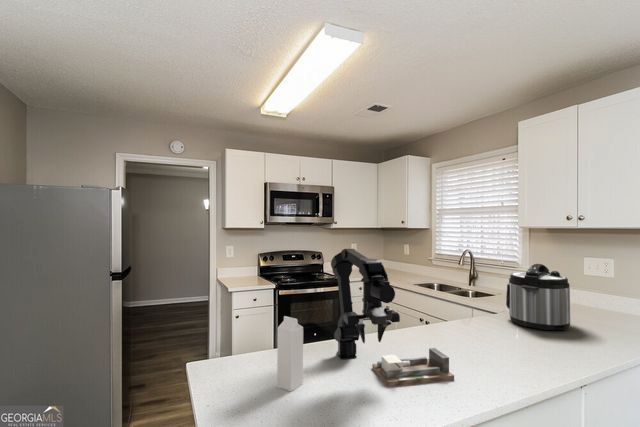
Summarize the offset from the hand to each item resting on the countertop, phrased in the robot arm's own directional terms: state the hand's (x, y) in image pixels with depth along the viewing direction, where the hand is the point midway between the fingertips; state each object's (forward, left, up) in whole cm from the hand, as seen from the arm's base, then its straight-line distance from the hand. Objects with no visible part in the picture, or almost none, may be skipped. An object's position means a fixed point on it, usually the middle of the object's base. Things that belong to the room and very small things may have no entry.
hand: (371, 342), depth 115 cm
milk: (-28, 0, -12) cm, 31 cm away
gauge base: (+15, 0, -12) cm, 19 cm away
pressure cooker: (+108, +41, -12) cm, 116 cm away
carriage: (+9, -2, -10) cm, 14 cm away
